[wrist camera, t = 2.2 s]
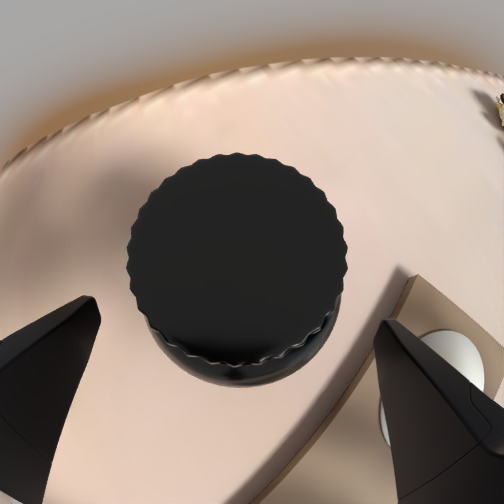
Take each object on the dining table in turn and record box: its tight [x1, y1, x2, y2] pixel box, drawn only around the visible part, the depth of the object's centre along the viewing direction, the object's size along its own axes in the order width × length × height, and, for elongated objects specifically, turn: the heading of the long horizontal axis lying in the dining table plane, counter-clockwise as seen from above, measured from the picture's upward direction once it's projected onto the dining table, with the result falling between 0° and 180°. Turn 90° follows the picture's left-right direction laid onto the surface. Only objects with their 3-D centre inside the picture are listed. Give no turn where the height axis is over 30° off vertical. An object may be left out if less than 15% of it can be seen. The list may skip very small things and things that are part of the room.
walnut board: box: [250, 274, 504, 504], centre depth 13 cm, size 22×12×1 cm, turn 144°
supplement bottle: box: [126, 153, 348, 388], centre depth 12 cm, size 7×7×12 cm
